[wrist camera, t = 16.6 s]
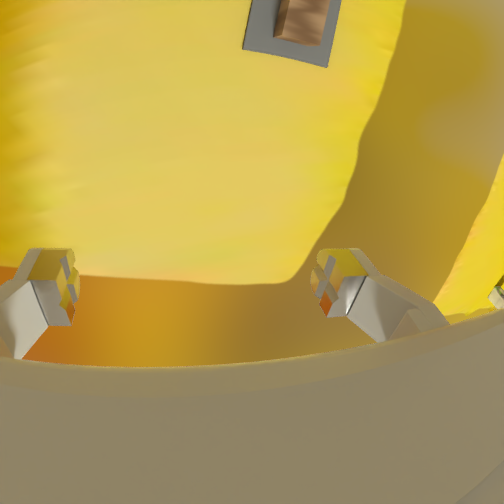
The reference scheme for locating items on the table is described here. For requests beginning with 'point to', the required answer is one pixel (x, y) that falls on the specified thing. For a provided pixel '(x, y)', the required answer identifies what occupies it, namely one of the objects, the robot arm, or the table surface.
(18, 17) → the table surface
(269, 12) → the mat
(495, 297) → the syrup box
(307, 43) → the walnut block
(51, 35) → the table surface
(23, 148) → the table surface
